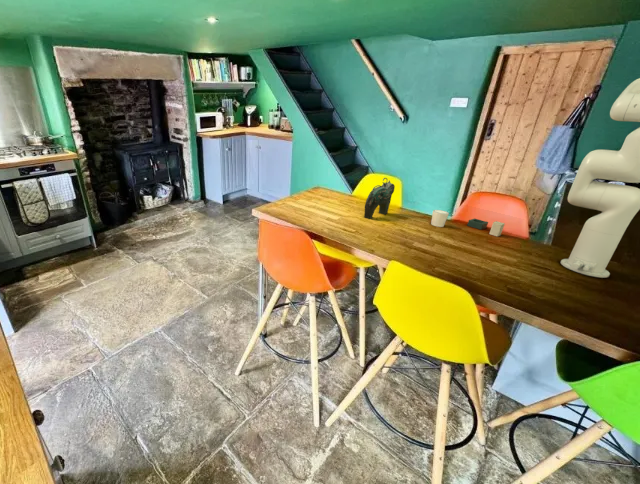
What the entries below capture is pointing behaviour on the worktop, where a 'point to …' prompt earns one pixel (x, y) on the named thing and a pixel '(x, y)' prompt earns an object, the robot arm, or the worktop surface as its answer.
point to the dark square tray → (477, 224)
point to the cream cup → (439, 218)
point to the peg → (496, 228)
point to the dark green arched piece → (379, 199)
